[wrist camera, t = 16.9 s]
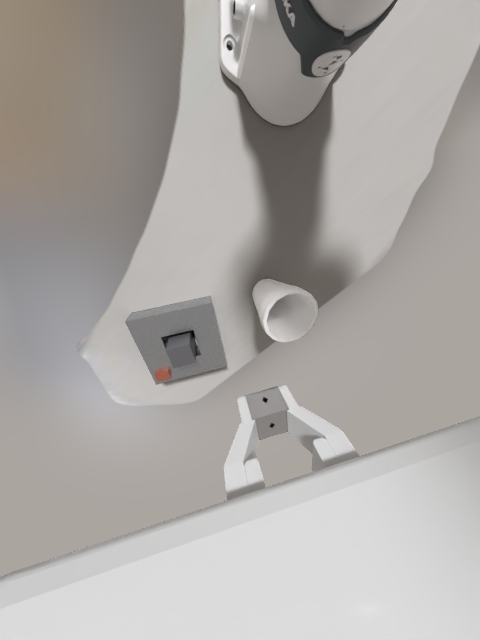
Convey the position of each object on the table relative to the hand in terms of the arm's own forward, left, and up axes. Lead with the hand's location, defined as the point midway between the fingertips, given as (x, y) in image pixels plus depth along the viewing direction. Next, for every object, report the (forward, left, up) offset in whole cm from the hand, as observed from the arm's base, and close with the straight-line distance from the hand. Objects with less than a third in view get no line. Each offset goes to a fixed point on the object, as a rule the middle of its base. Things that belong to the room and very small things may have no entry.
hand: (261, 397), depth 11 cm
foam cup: (+6, +10, -31) cm, 33 cm away
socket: (+12, -10, -31) cm, 35 cm away
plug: (+12, -10, -31) cm, 35 cm away
